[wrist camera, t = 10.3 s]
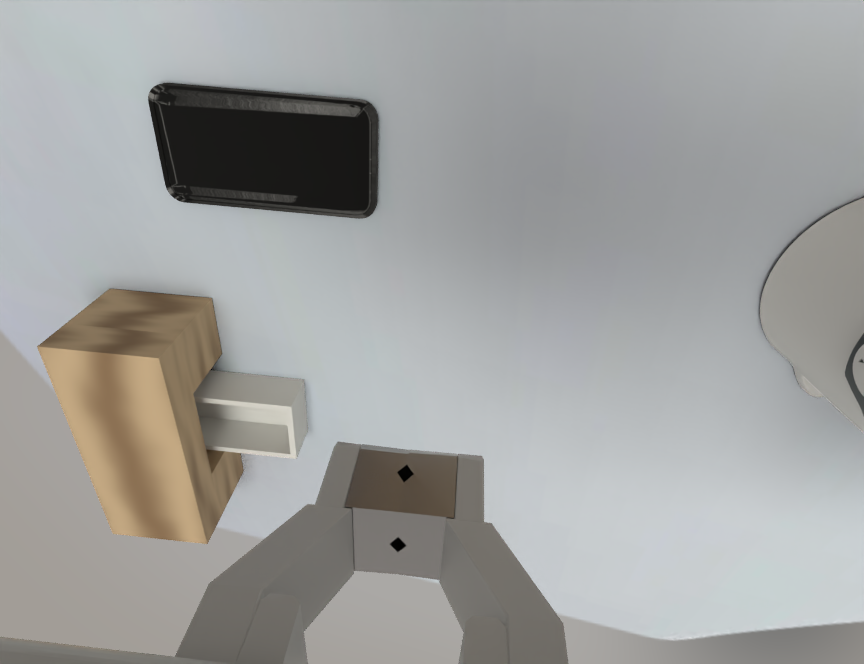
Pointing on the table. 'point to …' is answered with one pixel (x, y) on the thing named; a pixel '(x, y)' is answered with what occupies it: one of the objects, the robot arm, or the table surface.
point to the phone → (267, 149)
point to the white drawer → (252, 413)
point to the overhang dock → (144, 411)
